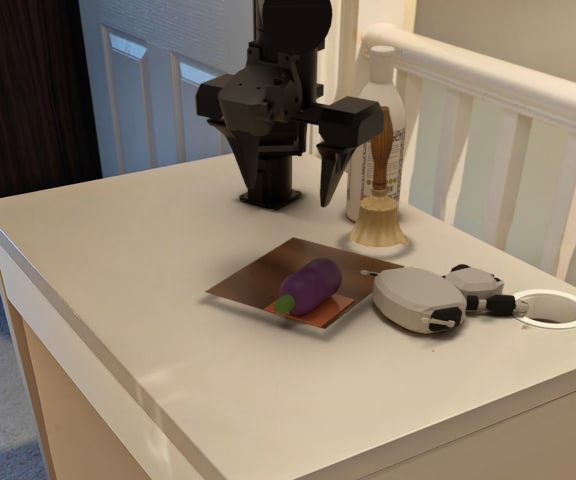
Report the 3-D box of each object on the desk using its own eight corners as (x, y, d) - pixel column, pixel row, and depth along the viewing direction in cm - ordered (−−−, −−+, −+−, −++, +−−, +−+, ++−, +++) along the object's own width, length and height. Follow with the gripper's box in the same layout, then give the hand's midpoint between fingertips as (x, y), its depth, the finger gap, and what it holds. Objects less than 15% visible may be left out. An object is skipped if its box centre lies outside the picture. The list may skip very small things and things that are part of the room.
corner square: (299, 285, 92) (299, 283, 92) (354, 301, 89) (354, 299, 89) (264, 310, 87) (264, 308, 87) (320, 327, 85) (320, 325, 84)
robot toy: (463, 287, 96) (351, 304, 90) (471, 249, 93) (356, 264, 87) (530, 334, 88) (411, 356, 82) (541, 294, 85) (419, 314, 79)
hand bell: (360, 263, 99) (368, 121, 89) (332, 237, 105) (337, 101, 95) (421, 252, 102) (436, 113, 91) (390, 228, 107) (401, 94, 97)
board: (293, 246, 103) (293, 236, 102) (404, 275, 97) (405, 265, 96) (205, 301, 92) (204, 291, 91) (324, 339, 85) (325, 328, 84)
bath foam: (408, 217, 110) (424, 48, 97) (371, 230, 107) (382, 57, 94) (372, 202, 114) (383, 38, 101) (335, 214, 111) (341, 47, 98)
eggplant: (314, 282, 92) (317, 246, 89) (347, 294, 90) (351, 258, 87) (262, 319, 85) (264, 281, 82) (296, 332, 84) (299, 294, 81)
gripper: (152, 31, 75) (168, 203, 85) (330, 61, 67) (324, 245, 78) (224, 9, 82) (231, 170, 92) (393, 33, 74) (379, 206, 85)
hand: (286, 196), depth 86 cm, fingers open, 9 cm apart
